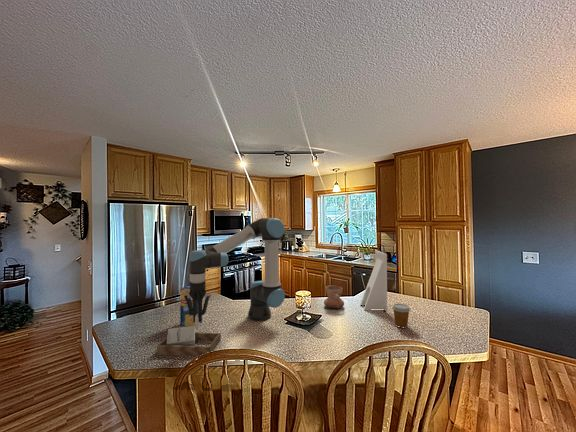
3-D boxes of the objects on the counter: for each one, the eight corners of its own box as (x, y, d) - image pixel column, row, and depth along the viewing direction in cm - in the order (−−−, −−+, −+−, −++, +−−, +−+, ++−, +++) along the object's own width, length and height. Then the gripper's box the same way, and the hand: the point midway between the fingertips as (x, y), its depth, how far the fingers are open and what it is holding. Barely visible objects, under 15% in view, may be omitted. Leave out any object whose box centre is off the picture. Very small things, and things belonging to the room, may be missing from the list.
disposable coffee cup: (410, 324, 154) (409, 304, 154) (410, 331, 145) (410, 309, 145) (393, 321, 158) (392, 302, 158) (392, 328, 149) (392, 307, 149)
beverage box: (197, 326, 153) (197, 289, 153) (180, 325, 153) (180, 289, 154) (202, 321, 160) (202, 286, 160) (185, 321, 160) (185, 286, 160)
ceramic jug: (347, 310, 177) (347, 290, 177) (327, 311, 175) (327, 290, 176) (339, 302, 195) (339, 284, 195) (321, 303, 193) (321, 284, 194)
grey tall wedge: (357, 303, 193) (357, 250, 193) (376, 303, 193) (376, 250, 193) (366, 312, 173) (365, 254, 173) (387, 312, 173) (386, 253, 173)
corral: (220, 340, 135) (220, 332, 135) (210, 355, 120) (210, 347, 120) (173, 339, 136) (173, 331, 136) (156, 354, 121) (156, 346, 121)
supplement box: (194, 340, 125) (166, 344, 121) (195, 345, 130) (168, 349, 126) (194, 325, 130) (167, 328, 126) (195, 330, 135) (169, 333, 131)
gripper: (212, 279, 131) (213, 325, 131) (188, 279, 132) (188, 325, 132) (207, 283, 124) (207, 332, 124) (181, 283, 124) (181, 331, 124)
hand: (197, 328), depth 128 cm, fingers closed
